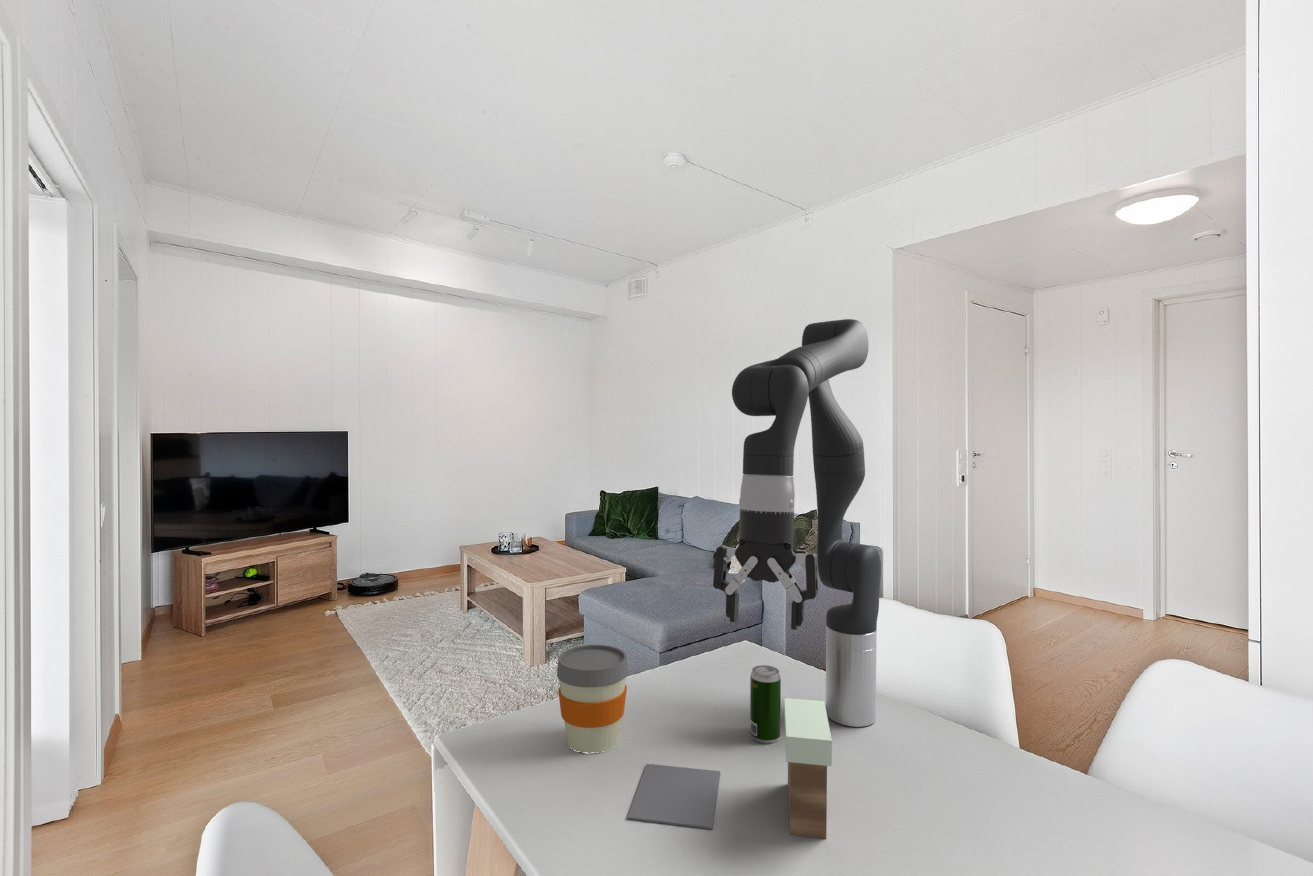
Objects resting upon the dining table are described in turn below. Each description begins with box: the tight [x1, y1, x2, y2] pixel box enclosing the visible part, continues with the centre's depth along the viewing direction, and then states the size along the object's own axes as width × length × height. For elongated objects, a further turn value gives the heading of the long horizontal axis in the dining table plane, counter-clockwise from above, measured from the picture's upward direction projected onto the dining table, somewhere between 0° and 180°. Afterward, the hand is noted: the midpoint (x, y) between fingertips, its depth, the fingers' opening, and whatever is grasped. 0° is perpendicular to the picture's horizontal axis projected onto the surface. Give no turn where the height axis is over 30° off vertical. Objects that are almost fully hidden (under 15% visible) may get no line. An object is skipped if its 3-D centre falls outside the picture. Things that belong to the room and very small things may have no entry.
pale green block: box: [783, 697, 833, 767], centre depth 90 cm, size 12×6×4 cm, turn 170°
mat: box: [627, 763, 721, 830], centre depth 94 cm, size 14×12×1 cm
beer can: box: [749, 664, 782, 745], centre depth 111 cm, size 5×5×12 cm
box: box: [787, 762, 828, 839], centre depth 90 cm, size 12×5×10 cm, turn 170°
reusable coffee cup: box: [556, 644, 629, 753], centre depth 109 cm, size 12×13×15 cm
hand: (763, 624), depth 86 cm, fingers open, 8 cm apart
